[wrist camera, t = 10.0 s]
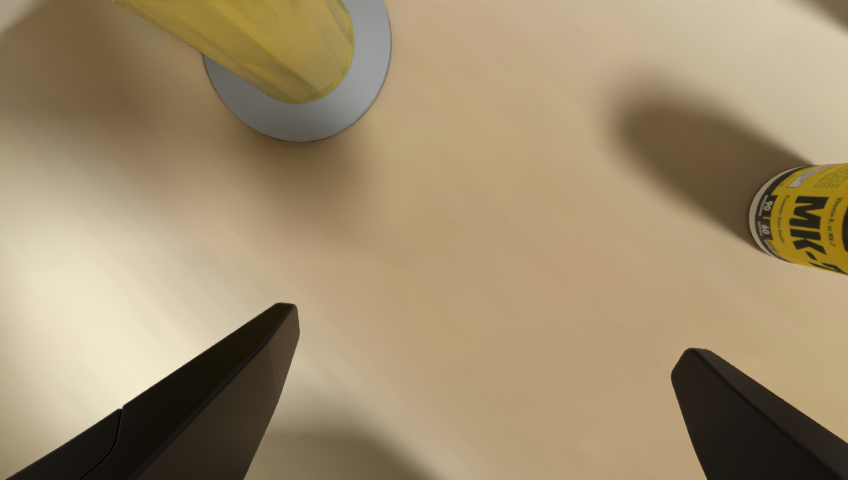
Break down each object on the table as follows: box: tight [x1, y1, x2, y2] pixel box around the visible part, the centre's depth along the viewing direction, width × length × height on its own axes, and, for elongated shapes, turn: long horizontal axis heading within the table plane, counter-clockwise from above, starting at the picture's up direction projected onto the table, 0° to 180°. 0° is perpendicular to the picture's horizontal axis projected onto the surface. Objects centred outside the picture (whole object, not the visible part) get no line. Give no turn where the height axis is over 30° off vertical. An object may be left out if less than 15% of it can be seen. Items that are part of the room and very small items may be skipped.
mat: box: [203, 0, 392, 142], centre depth 19 cm, size 10×10×1 cm
